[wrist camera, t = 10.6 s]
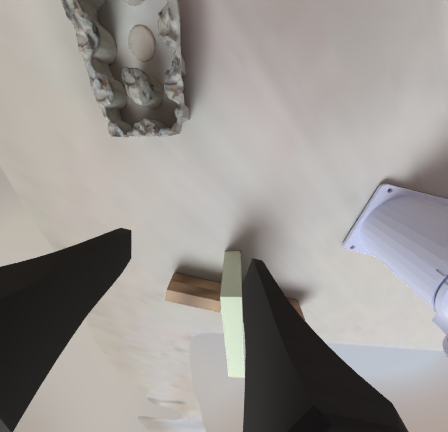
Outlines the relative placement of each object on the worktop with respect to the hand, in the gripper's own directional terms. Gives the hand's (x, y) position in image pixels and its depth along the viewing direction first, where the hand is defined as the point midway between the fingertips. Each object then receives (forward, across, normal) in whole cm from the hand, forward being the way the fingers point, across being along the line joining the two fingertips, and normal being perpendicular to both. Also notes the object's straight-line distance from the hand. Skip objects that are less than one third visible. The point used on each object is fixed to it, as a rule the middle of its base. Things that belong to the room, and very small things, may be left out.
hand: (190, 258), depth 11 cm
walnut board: (+10, -6, +13) cm, 18 cm away
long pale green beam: (+10, -6, +13) cm, 18 cm away
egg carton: (+11, +8, -10) cm, 17 cm away
